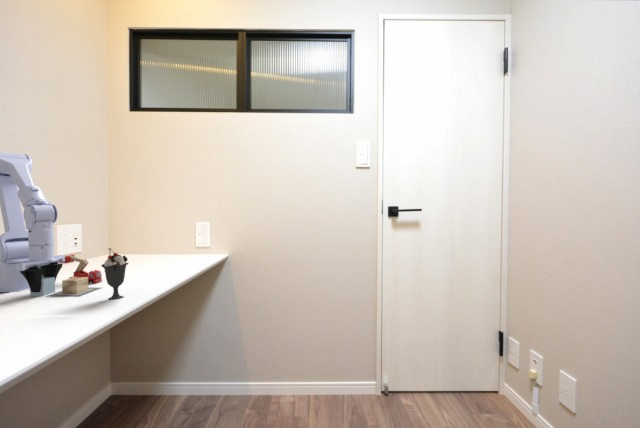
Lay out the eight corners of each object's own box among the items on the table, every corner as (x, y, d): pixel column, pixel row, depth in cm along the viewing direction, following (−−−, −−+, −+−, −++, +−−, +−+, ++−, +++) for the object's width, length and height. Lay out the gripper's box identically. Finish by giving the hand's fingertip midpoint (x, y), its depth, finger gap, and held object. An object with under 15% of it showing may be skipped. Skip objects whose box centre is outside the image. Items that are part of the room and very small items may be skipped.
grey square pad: (45, 297, 93) (45, 296, 93) (72, 288, 103) (72, 287, 103) (79, 297, 93) (79, 296, 93) (103, 288, 103) (103, 287, 103)
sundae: (100, 304, 87) (99, 249, 87) (103, 297, 93) (102, 246, 93) (128, 300, 90) (127, 247, 90) (130, 294, 96) (129, 245, 96)
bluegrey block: (30, 297, 94) (29, 280, 94) (42, 293, 98) (41, 277, 98) (43, 297, 94) (43, 280, 94) (55, 293, 98) (54, 277, 98)
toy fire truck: (96, 285, 108) (95, 256, 108) (58, 284, 109) (58, 256, 109) (103, 282, 111) (103, 255, 111) (67, 281, 113) (66, 254, 112)
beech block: (62, 293, 96) (62, 280, 96) (74, 289, 100) (73, 277, 100) (77, 293, 96) (76, 280, 96) (88, 289, 100) (88, 277, 100)
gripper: (32, 248, 88) (33, 296, 88) (73, 241, 103) (74, 283, 103) (7, 248, 88) (8, 296, 89) (52, 241, 103) (53, 283, 103)
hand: (42, 289), depth 96 cm, fingers closed on bluegrey block, 4 cm apart
